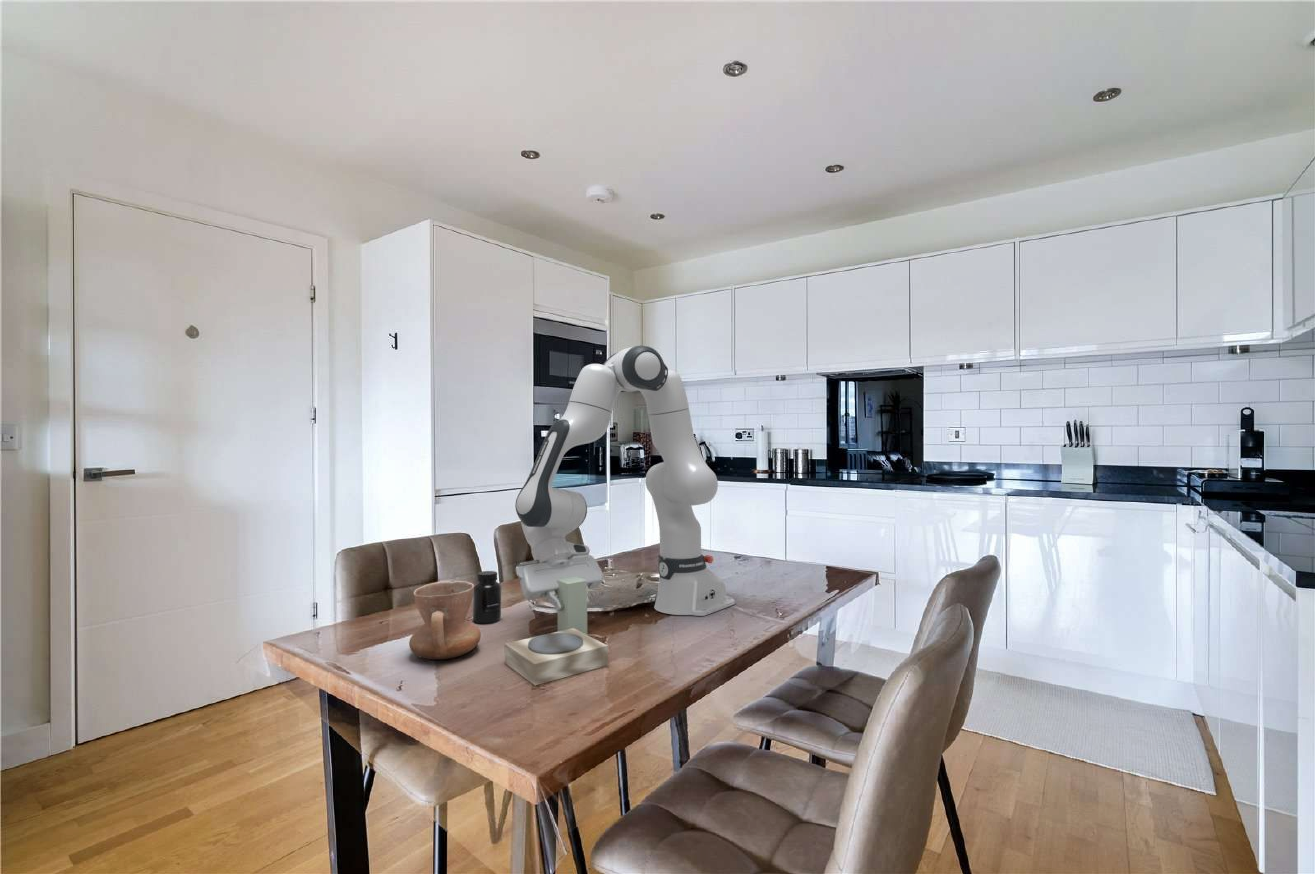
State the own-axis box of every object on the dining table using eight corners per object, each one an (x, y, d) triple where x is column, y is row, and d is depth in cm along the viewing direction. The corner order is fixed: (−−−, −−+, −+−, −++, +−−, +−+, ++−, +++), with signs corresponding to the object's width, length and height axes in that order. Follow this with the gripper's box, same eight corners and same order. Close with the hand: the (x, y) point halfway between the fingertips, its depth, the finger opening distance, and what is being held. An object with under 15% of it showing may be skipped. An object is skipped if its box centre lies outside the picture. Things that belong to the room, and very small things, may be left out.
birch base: (573, 646, 134) (573, 625, 134) (607, 665, 123) (607, 642, 123) (504, 662, 125) (504, 640, 125) (534, 685, 113) (534, 660, 113)
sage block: (576, 631, 144) (576, 576, 144) (587, 636, 140) (586, 580, 140) (557, 635, 141) (557, 579, 141) (568, 641, 137) (567, 583, 137)
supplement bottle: (493, 625, 149) (493, 576, 149) (467, 623, 151) (467, 575, 151) (505, 616, 156) (505, 570, 156) (481, 615, 157) (480, 569, 157)
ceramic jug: (421, 640, 139) (420, 578, 138) (487, 637, 140) (485, 575, 140) (396, 673, 121) (394, 602, 120) (471, 668, 122) (470, 598, 122)
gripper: (517, 555, 140) (536, 607, 132) (593, 545, 152) (615, 592, 144) (509, 571, 144) (527, 623, 136) (584, 560, 156) (605, 606, 148)
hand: (573, 607), depth 140 cm, fingers closed on sage block, 5 cm apart
